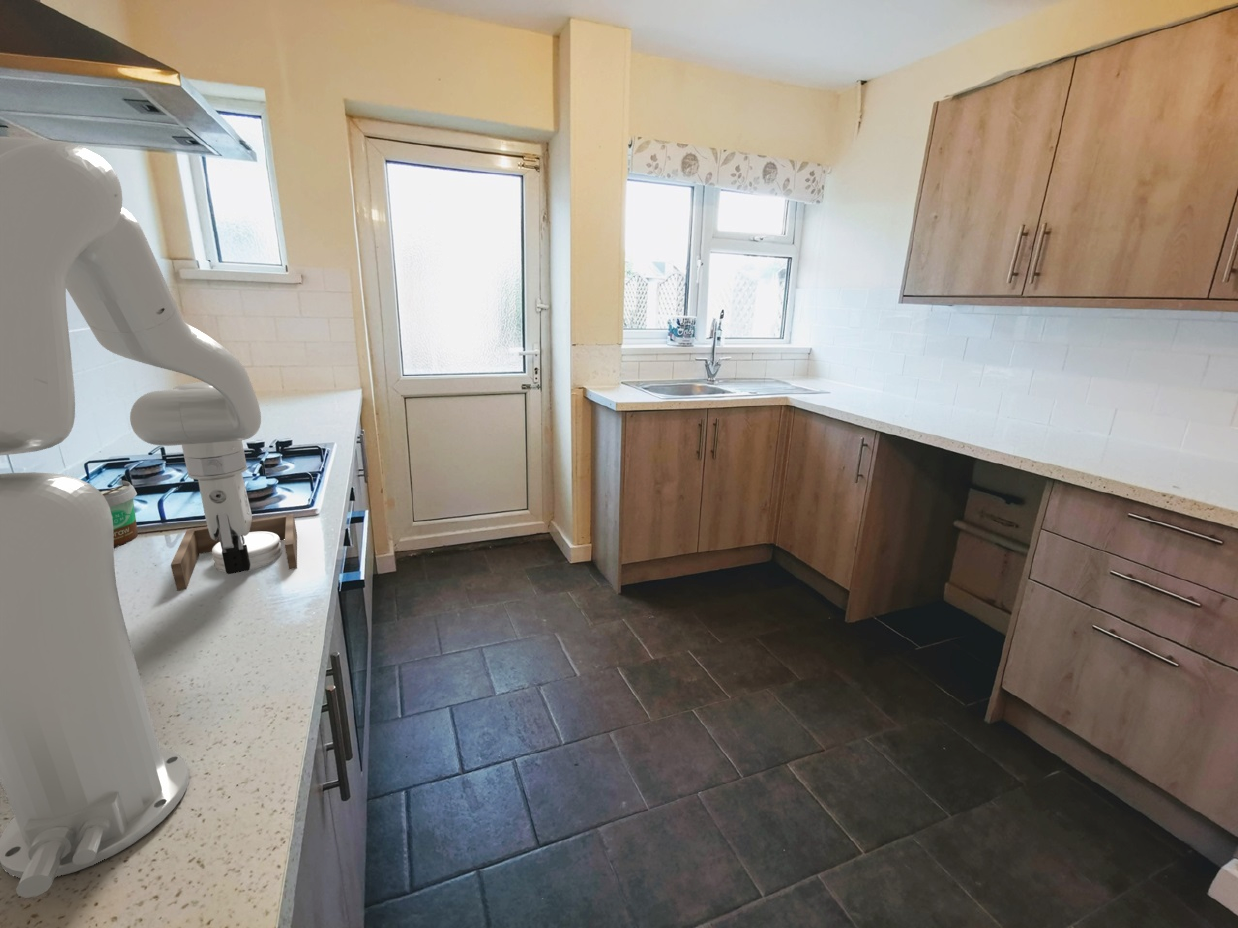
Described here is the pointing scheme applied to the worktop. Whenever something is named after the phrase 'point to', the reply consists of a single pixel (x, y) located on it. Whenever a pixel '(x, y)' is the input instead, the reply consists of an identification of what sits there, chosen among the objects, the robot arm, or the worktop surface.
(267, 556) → the coaster
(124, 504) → the food container
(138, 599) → the worktop surface
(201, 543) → the box
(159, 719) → the worktop surface
